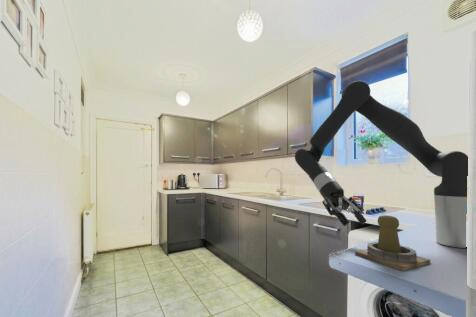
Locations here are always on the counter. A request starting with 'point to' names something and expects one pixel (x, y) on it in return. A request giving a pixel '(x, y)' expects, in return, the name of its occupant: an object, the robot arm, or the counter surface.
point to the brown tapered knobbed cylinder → (388, 234)
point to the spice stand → (393, 257)
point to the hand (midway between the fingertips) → (355, 223)
